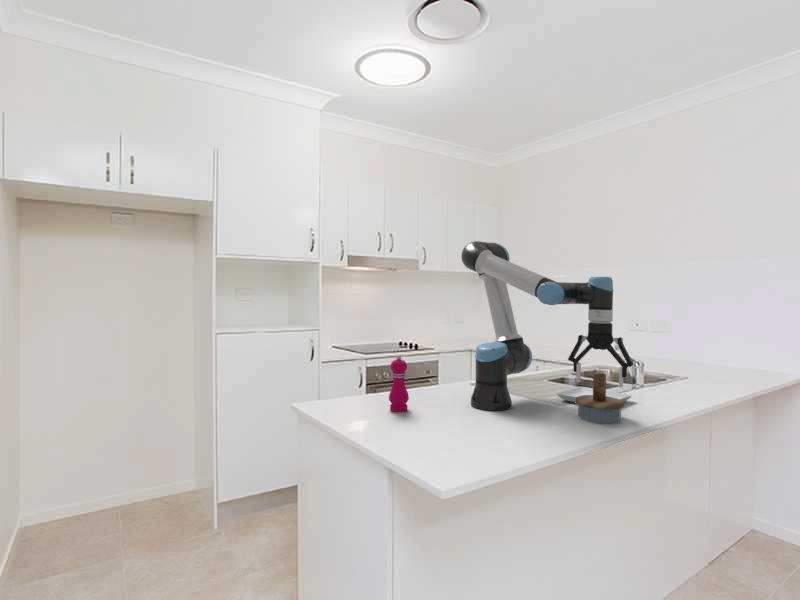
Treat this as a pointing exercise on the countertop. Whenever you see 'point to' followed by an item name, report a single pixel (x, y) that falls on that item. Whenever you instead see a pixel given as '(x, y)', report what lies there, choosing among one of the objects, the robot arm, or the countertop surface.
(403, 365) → the pepper mill
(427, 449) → the countertop surface
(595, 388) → the lid
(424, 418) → the countertop surface
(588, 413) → the bowl
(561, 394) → the salad plate
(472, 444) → the countertop surface
